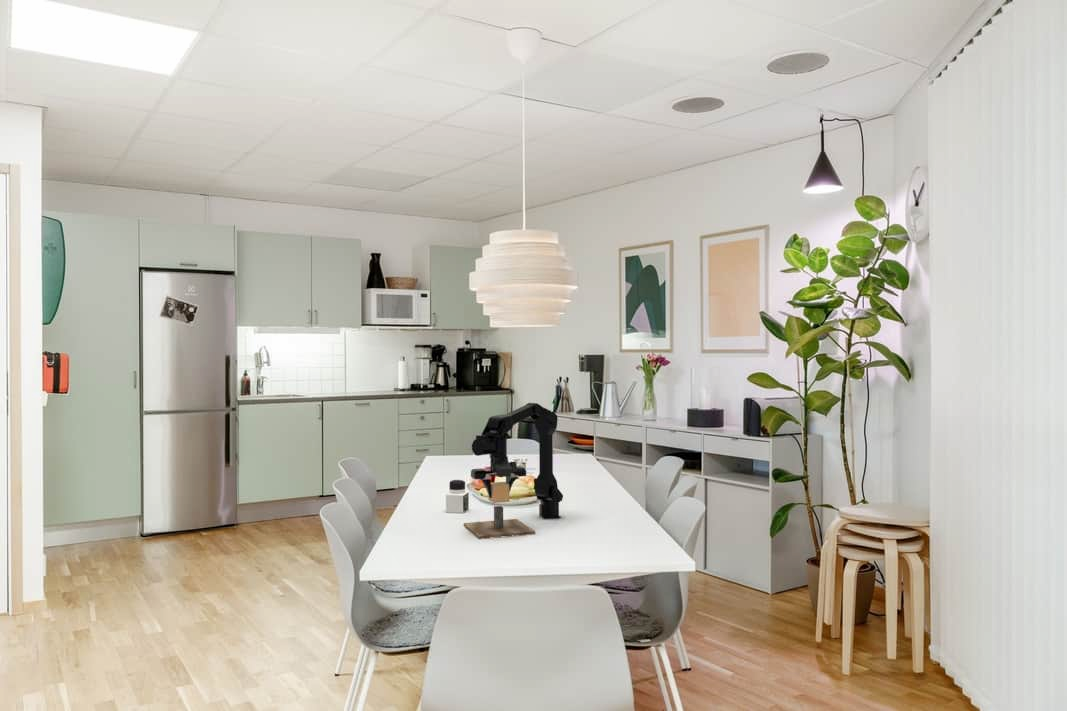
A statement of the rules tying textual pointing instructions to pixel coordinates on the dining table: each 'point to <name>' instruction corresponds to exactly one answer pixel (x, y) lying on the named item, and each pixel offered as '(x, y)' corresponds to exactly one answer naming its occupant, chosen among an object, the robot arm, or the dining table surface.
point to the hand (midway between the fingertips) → (498, 497)
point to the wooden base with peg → (498, 526)
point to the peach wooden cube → (499, 492)
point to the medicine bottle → (457, 497)
